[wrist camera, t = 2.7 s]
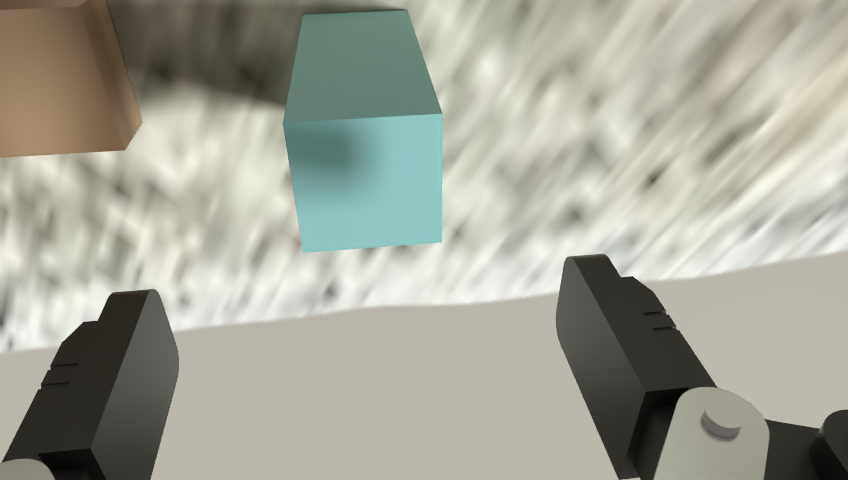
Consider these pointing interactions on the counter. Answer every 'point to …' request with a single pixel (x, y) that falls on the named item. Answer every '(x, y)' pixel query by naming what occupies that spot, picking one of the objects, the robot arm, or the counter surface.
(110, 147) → the board
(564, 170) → the counter surface
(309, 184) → the square peg
